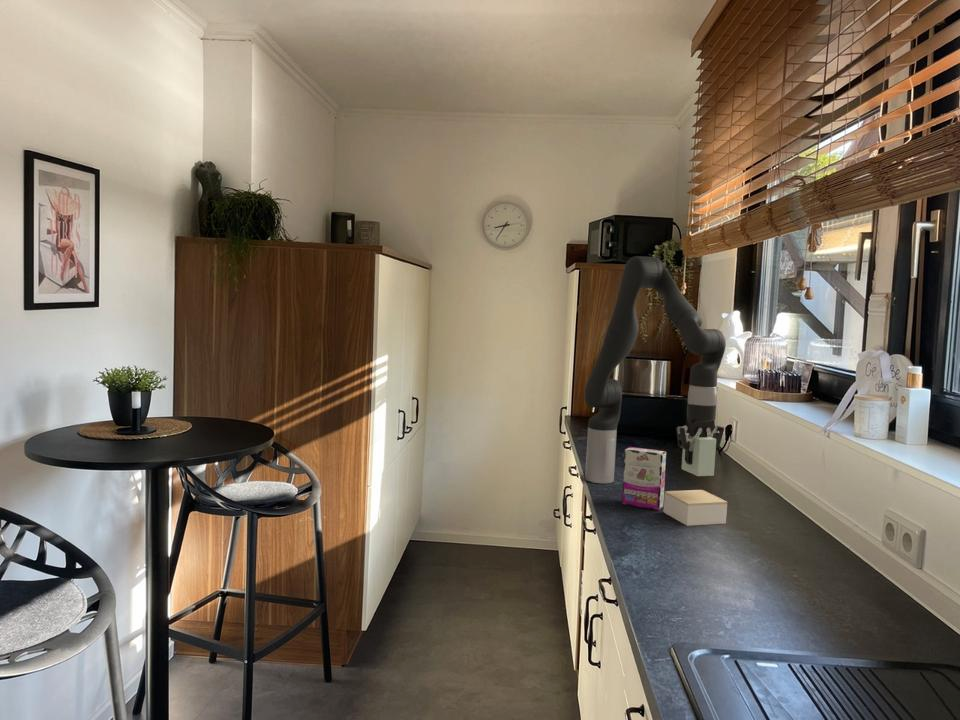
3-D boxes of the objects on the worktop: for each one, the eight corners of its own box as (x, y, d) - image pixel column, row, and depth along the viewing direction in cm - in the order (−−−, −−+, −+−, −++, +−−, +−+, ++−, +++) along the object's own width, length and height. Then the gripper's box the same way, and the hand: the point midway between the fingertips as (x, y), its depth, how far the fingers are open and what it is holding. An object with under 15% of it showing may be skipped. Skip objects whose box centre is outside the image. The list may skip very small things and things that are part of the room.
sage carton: (681, 469, 205) (683, 433, 204) (697, 468, 206) (699, 433, 205) (697, 476, 197) (700, 439, 196) (713, 475, 198) (716, 439, 198)
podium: (663, 512, 207) (664, 491, 206) (700, 510, 210) (702, 489, 210) (686, 525, 195) (688, 503, 195) (725, 523, 199) (727, 501, 198)
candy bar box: (663, 506, 212) (667, 451, 211) (659, 511, 208) (663, 454, 206) (625, 500, 217) (629, 445, 216) (620, 504, 213) (624, 448, 211)
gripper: (716, 400, 205) (712, 459, 207) (671, 400, 201) (667, 461, 203) (733, 404, 198) (728, 466, 200) (686, 404, 194) (682, 467, 196)
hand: (697, 463), depth 201 cm, fingers closed on sage carton, 5 cm apart
